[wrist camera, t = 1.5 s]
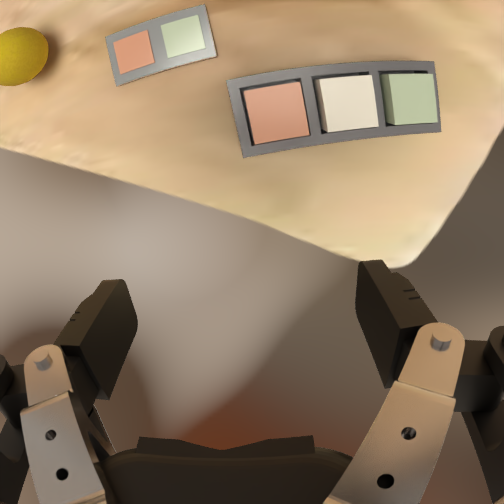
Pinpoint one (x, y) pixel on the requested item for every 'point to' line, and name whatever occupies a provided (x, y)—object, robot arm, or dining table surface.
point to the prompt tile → (161, 44)
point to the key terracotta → (276, 112)
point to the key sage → (408, 98)
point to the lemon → (21, 55)
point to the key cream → (346, 103)
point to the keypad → (311, 107)
